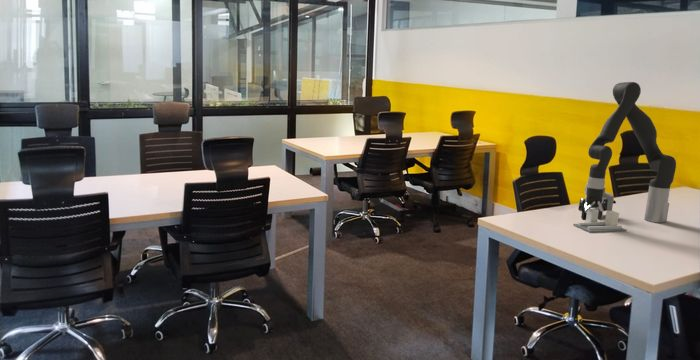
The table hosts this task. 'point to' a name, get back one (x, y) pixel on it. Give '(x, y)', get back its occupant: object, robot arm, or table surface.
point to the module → (592, 215)
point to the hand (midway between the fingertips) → (591, 219)
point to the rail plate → (603, 224)
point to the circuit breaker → (607, 196)
